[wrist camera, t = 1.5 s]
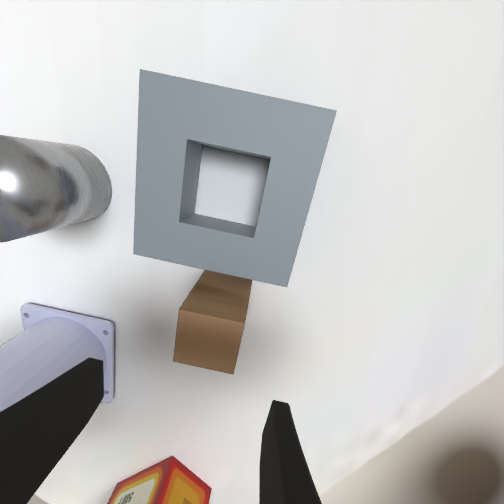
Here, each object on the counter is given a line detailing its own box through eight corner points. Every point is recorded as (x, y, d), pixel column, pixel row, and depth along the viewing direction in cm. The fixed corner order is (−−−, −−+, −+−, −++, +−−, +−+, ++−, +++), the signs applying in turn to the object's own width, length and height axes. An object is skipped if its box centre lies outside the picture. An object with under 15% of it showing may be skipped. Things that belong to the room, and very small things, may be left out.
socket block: (284, 268, 18) (286, 287, 15) (155, 241, 18) (133, 254, 15) (323, 122, 15) (336, 110, 12) (165, 89, 15) (139, 69, 12)
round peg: (111, 226, 18) (37, 251, 12) (44, 211, 18) (-61, 230, 12) (112, 153, 16) (25, 142, 10) (37, 137, 16) (-88, 118, 10)
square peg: (244, 315, 19) (233, 374, 14) (201, 306, 19) (173, 361, 14) (252, 276, 18) (244, 323, 13) (207, 266, 18) (179, 309, 13)
